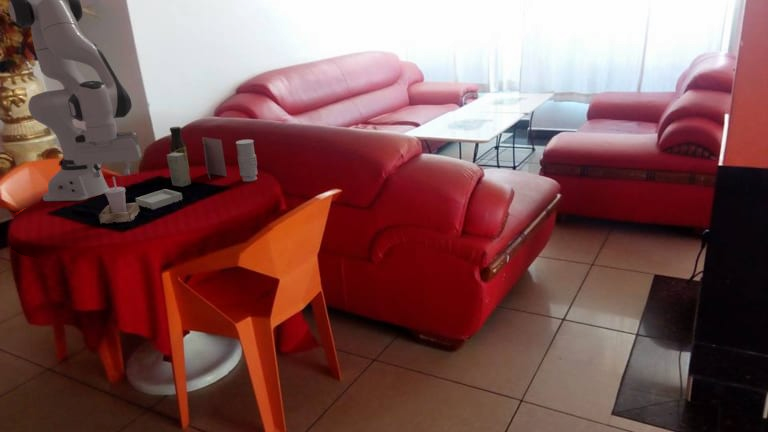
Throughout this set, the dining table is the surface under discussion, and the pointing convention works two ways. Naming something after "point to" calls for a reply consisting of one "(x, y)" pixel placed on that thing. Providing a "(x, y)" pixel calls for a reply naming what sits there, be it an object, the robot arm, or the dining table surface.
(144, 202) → the tray
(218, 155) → the greeting card
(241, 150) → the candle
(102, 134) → the robot arm
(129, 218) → the frame
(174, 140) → the sauce bottle
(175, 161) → the skincare box
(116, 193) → the smoothie
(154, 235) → the dining table surface
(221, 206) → the dining table surface
